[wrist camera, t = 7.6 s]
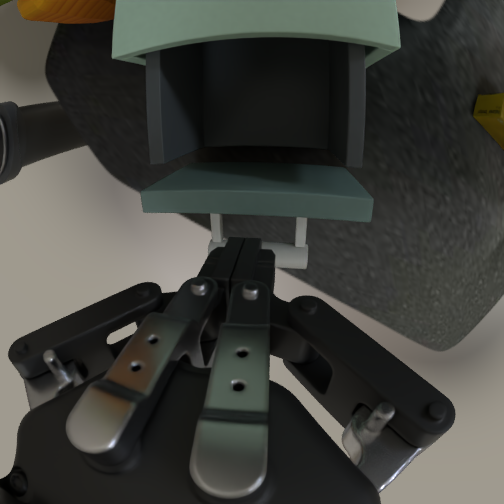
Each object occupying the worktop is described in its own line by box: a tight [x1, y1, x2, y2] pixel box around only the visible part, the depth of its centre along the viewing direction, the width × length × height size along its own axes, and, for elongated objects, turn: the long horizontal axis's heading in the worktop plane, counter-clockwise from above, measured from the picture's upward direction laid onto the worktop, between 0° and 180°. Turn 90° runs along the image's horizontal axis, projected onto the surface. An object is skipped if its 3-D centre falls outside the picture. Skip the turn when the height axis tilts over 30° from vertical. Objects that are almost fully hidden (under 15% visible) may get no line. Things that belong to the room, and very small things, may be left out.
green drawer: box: [141, 37, 374, 269], centre depth 14 cm, size 18×11×8 cm, turn 0°
